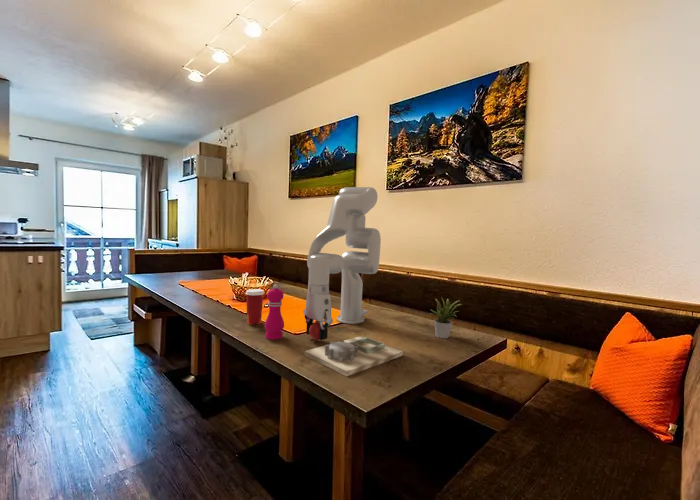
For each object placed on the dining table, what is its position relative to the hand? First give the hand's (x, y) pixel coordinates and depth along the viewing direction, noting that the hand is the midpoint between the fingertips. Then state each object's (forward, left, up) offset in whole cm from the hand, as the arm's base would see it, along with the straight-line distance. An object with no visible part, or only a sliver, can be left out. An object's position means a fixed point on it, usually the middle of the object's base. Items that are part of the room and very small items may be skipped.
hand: (316, 336), depth 127 cm
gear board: (-1, +19, -2) cm, 19 cm away
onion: (0, 0, -2) cm, 2 cm away
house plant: (-45, +27, -2) cm, 53 cm away
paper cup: (+7, -34, -2) cm, 35 cm away
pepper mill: (+10, -13, -2) cm, 17 cm away
